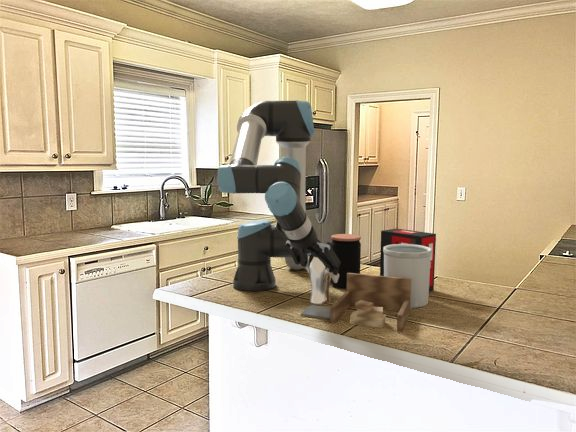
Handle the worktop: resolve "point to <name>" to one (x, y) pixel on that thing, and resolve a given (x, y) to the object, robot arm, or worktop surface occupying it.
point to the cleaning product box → (409, 238)
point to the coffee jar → (346, 256)
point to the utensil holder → (410, 268)
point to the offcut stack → (368, 315)
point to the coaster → (317, 312)
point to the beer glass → (319, 281)
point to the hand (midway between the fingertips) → (325, 277)
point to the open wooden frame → (376, 295)
